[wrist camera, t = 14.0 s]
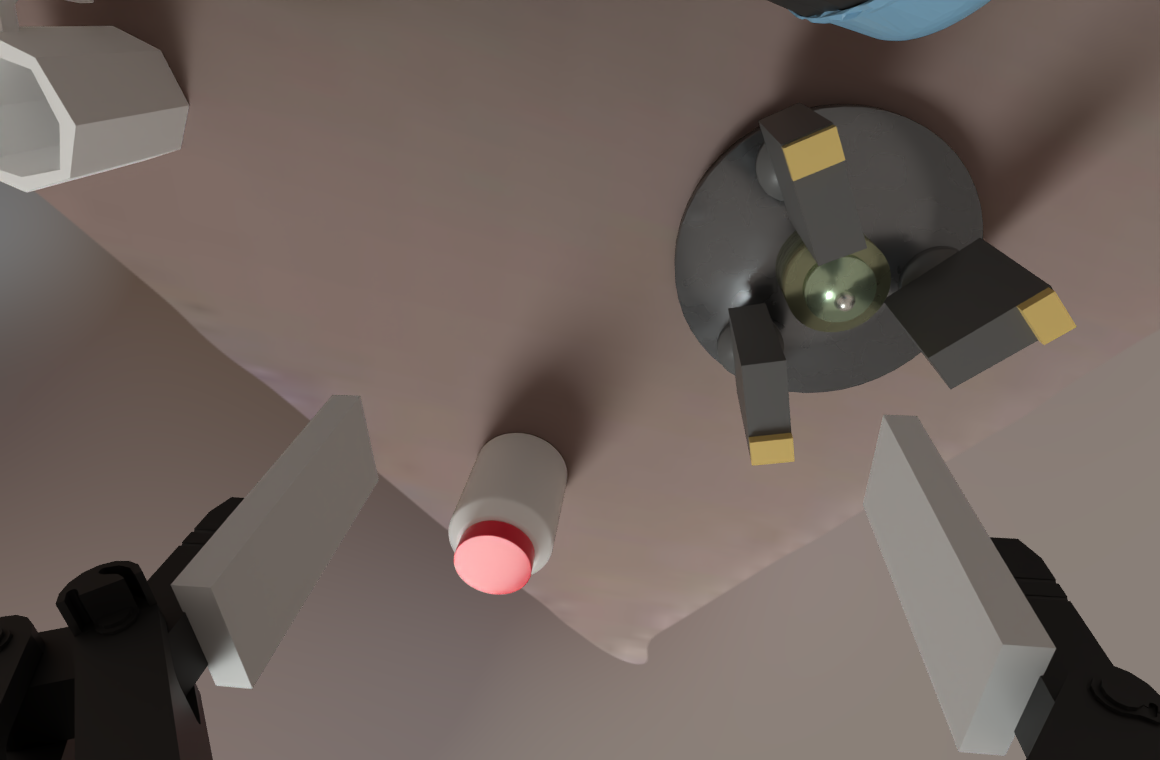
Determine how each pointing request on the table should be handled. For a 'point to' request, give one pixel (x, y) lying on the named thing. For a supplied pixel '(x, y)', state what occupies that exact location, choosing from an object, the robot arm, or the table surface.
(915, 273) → the leg
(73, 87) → the mug
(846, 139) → the plate
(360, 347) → the table surface
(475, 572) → the pill bottle
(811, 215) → the knob
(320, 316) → the table surface
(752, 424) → the knob
